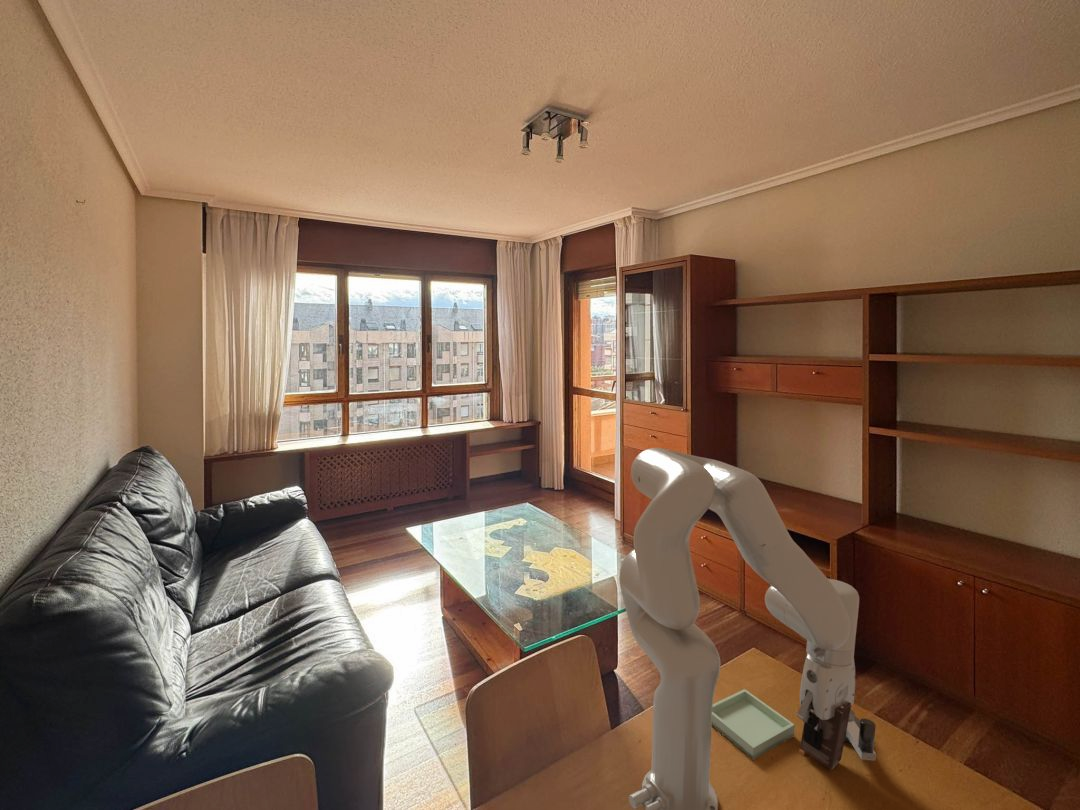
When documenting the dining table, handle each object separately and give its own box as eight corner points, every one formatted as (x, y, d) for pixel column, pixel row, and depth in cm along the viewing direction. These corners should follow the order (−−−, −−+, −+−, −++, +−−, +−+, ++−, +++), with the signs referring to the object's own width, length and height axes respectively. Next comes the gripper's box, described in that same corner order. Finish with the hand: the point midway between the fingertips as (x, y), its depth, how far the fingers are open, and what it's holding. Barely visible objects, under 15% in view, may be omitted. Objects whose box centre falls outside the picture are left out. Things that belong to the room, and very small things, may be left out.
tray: (752, 760, 97) (753, 747, 97) (704, 719, 108) (704, 708, 107) (793, 736, 103) (794, 724, 103) (744, 699, 113) (744, 688, 113)
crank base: (818, 766, 96) (819, 757, 95) (785, 741, 102) (785, 731, 101) (869, 734, 103) (870, 725, 103) (835, 712, 109) (835, 703, 109)
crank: (827, 711, 107) (829, 682, 106) (848, 712, 106) (850, 684, 105) (856, 759, 95) (859, 727, 94) (880, 761, 94) (883, 728, 93)
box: (841, 759, 97) (853, 703, 94) (831, 771, 94) (842, 714, 92) (809, 737, 101) (819, 683, 99) (798, 748, 99) (807, 693, 96)
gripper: (820, 674, 87) (811, 772, 90) (877, 647, 96) (867, 737, 98) (781, 650, 94) (773, 742, 96) (837, 627, 102) (829, 712, 104)
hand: (821, 738), depth 97 cm, fingers closed on box, 4 cm apart
